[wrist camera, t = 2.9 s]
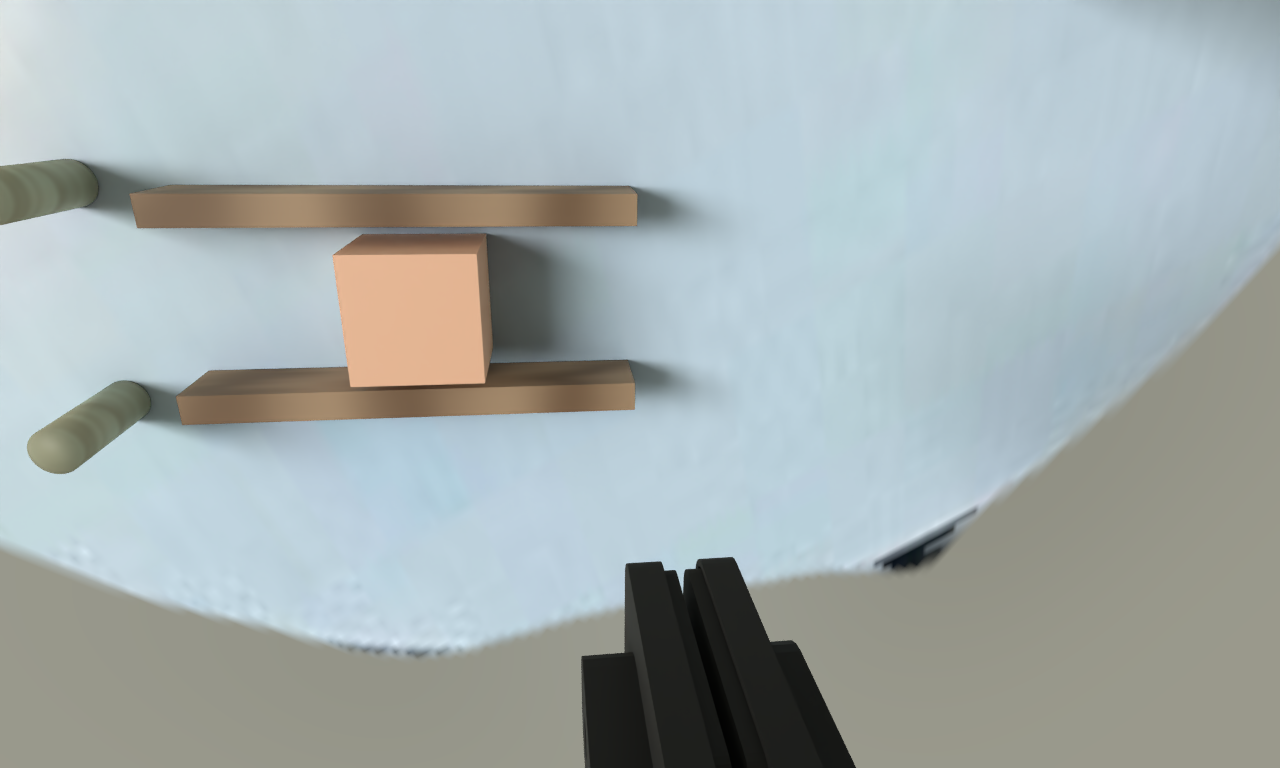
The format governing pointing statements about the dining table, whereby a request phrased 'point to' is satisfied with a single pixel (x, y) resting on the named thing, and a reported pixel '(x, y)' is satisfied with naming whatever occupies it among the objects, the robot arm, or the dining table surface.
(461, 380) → the block
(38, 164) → the chute
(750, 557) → the dining table surface
